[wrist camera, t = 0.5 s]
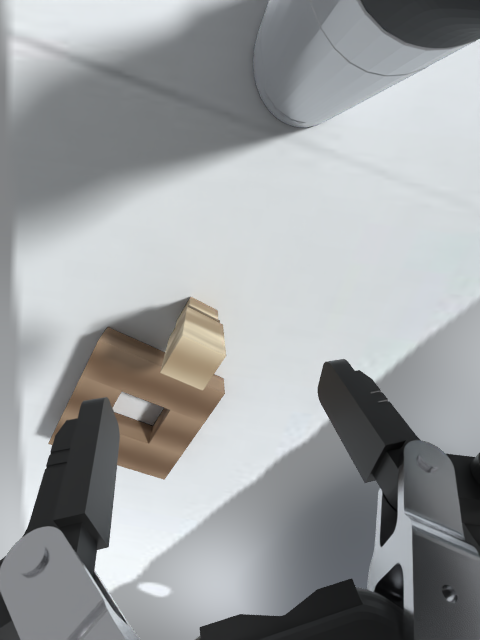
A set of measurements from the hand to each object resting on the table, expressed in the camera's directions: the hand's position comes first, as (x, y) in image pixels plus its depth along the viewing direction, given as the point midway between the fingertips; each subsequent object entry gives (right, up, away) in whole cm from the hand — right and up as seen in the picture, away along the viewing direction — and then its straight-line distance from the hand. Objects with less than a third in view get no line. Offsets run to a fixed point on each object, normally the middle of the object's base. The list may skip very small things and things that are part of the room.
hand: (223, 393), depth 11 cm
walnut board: (-12, -8, +27) cm, 30 cm away
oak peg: (-4, +3, +23) cm, 23 cm away
